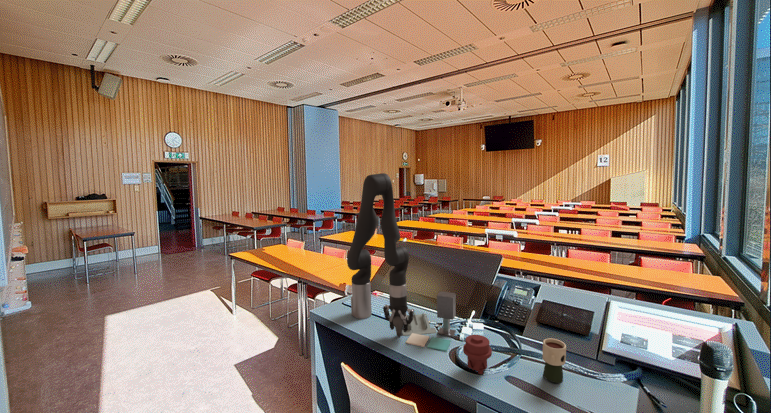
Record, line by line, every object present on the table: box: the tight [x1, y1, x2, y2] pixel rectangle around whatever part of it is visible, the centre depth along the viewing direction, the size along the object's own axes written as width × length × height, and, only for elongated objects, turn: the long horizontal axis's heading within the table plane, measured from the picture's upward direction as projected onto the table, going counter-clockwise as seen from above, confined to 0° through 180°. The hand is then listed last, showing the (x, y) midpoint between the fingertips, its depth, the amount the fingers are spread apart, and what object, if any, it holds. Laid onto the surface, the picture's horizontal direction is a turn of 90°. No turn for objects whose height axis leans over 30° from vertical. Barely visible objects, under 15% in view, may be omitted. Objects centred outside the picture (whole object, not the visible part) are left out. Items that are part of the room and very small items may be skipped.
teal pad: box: [427, 336, 452, 352], centre depth 140 cm, size 8×8×1 cm
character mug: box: [542, 338, 567, 384], centre depth 116 cm, size 11×7×13 cm, turn 149°
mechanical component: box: [462, 334, 493, 375], centre depth 122 cm, size 12×10×10 cm
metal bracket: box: [402, 311, 437, 337], centre depth 154 cm, size 14×6×15 cm
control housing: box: [436, 291, 457, 338], centre depth 148 cm, size 7×5×18 cm
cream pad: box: [405, 333, 430, 348], centre depth 144 cm, size 8×8×1 cm
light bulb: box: [393, 316, 404, 338], centre depth 147 cm, size 6×6×10 cm
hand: (399, 330), depth 147 cm, fingers closed on light bulb, 5 cm apart
